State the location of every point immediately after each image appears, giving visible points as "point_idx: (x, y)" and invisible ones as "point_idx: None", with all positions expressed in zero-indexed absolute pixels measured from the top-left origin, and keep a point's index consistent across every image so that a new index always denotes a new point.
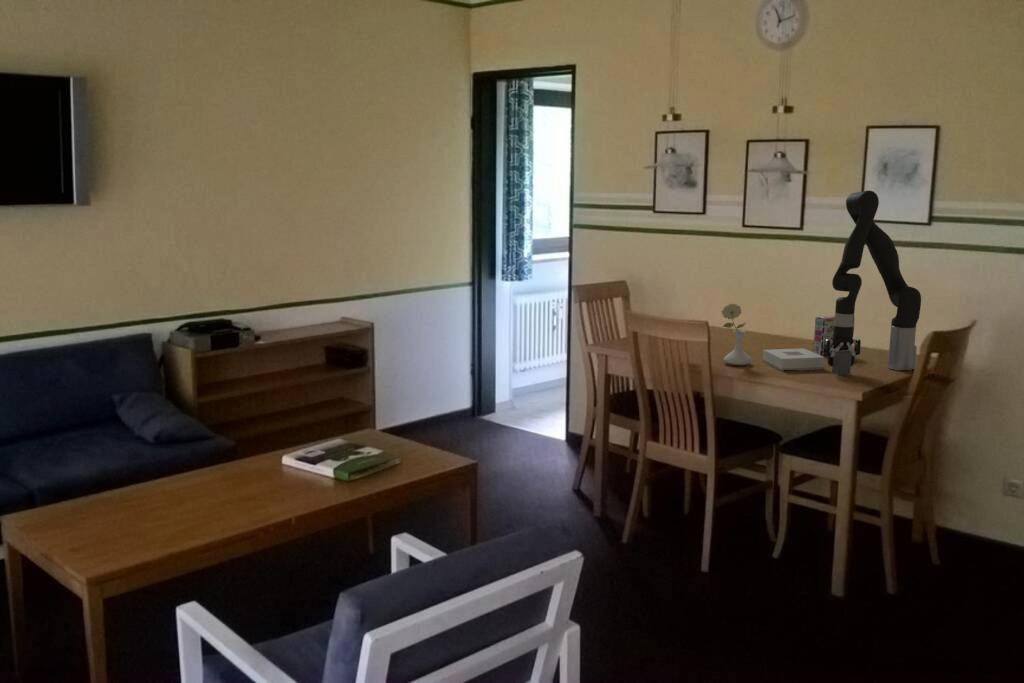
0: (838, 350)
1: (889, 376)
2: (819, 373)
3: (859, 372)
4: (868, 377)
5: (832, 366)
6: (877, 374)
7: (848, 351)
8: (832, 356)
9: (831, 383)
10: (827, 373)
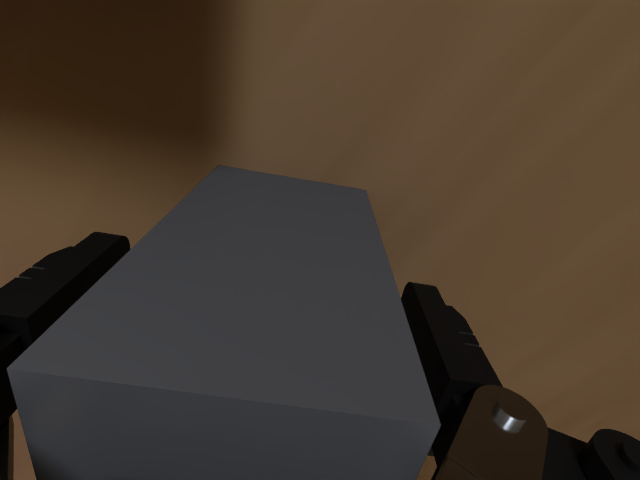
0: (169, 431)
1: (605, 427)
2: (51, 153)
3: (516, 250)
4: None
5: (194, 194)
6: (591, 358)
7: None
8: (2, 420)
9: (29, 455)
10: (147, 182)
